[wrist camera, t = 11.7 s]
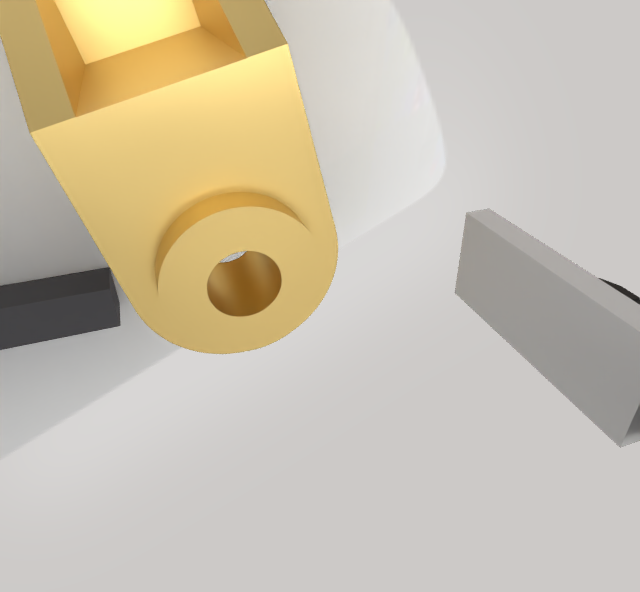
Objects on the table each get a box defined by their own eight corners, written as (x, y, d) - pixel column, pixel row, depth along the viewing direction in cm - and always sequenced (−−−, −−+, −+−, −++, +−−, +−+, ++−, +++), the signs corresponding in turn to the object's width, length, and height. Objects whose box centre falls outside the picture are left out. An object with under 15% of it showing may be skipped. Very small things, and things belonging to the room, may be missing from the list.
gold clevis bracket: (278, 199, 37) (368, 324, 24) (154, 247, 36) (182, 404, 23) (161, -162, 25) (218, -285, 13) (-29, -109, 24) (-178, -185, 11)
